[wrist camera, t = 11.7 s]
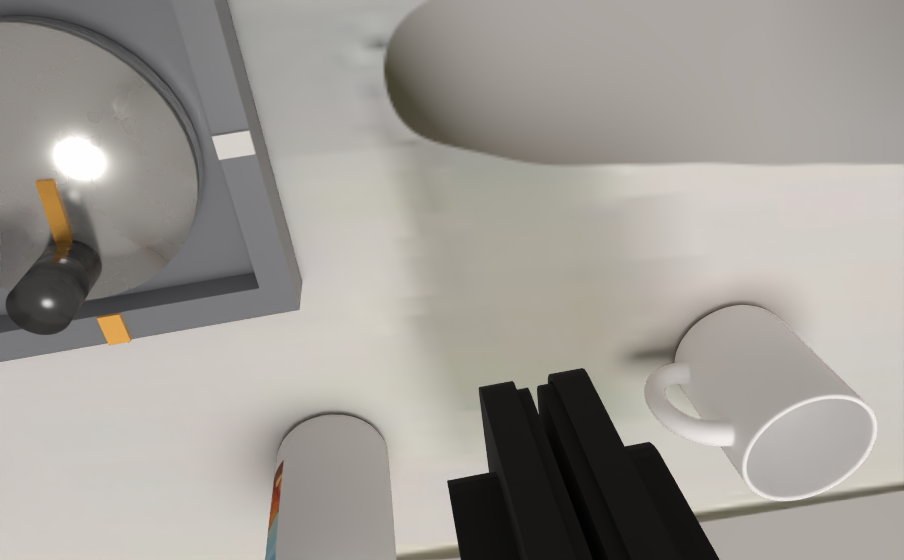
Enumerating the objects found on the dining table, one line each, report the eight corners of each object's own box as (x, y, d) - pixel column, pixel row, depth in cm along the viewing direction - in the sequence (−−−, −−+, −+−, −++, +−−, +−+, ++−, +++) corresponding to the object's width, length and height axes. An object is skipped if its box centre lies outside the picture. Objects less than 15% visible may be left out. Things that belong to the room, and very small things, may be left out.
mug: (611, 402, 50) (670, 512, 41) (630, 305, 46) (699, 404, 37) (764, 392, 52) (852, 496, 43) (795, 297, 48) (899, 391, 39)
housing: (-251, -26, 30) (-315, -17, 27) (202, -89, 32) (188, -87, 29) (-36, 340, 40) (-66, 375, 37) (302, 282, 42) (299, 312, 39)
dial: (172, 10, 32) (136, 35, 26) (225, 272, 39) (205, 335, 33) (-154, 21, 30) (-266, 49, 25) (-39, 291, 37) (-106, 362, 32)
